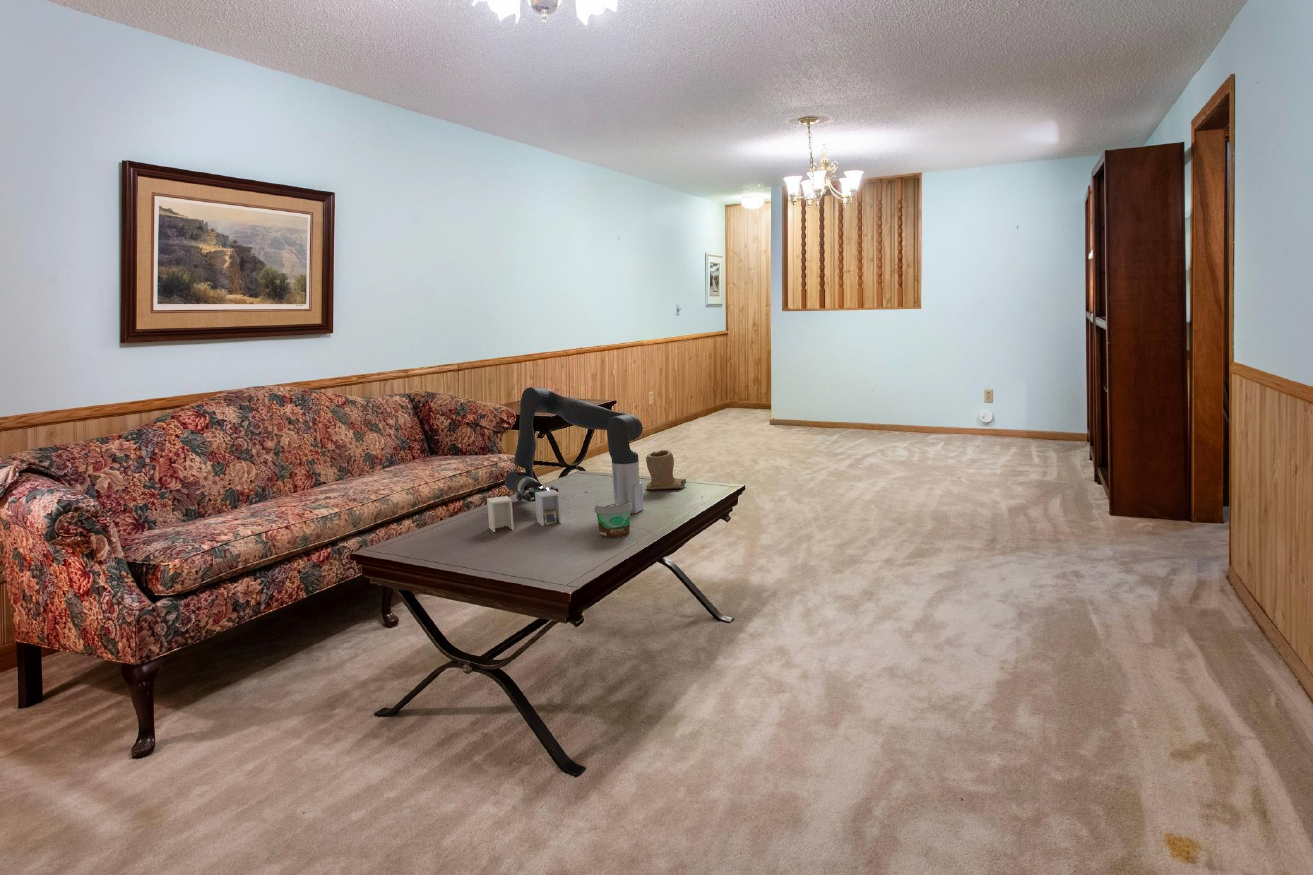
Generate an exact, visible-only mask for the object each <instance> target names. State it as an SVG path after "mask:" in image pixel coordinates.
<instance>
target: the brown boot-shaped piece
mask: <svg viewBox="0 0 1313 875" xmlns="http://www.w3.org/2000/svg"><path fill="white" fill-rule="evenodd" d="M645 463H646V467H647V470H648V472H649V475H650V478H651V481H650V482H648V483H647V484H646V485H645V487H646V489H648V490H678V489H683V488H684V487H685V486H686V484H687V479H686V478H675V477H674V475H673V474H674V466H675V458H674V454H673V453H672V451H671V450H668V449H661V450H658V451H652V452H650V453H648V454H647V455H646V457H645Z"/></svg>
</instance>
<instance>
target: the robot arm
mask: <svg viewBox="0 0 1313 875" xmlns="http://www.w3.org/2000/svg"><path fill="white" fill-rule="evenodd" d="M520 397H521V398H520V407H519V426H518V427H519V428H518V429H519V430H518V440H517V445H516V449H515V455H514V459H513V460H514V461H513V462H514V465H516V466H518V467H519V468H523V469H524V470H525V471H524V472H521V471H515V470H514V471H513V470H512V471H510V472H508V473H507V474H506V475H505V477H504V485H505V487H506V489H508V491H511V492H514V493H515V499H516V500H517V501H518V502H522V501H525V502H528V503H531V502H532V503H534V502H535V503H536V500H535V492H542V491H550V490H555V491H557V492H558V493H559V488H558V487H556V486H554V485H551V486H550V487H544V486H543V484H542V483H541V482H540V481H538V480H537V479H536V478H534V459H535V454H536V450H537V440H536V435H535V431H534V418H535V414H536V413H541V414H543V413H545V414H551V415H556V416H559V417H561V418H562V419H563V420H564V421H565V422H567V423H568V424H570V425H573V426H576V427H579V428H581V429H586V430H587V429H589V430H598V431H600V430H601V431H606V437H607V440H606V441H607V448H608V453H609V456H610V460H611V472H612V473H611V474H612V475H611V477H612V488H613V490H612V492H613V493H612V494H613V495H612V496H613V504H624V503H628V500H630V502H631V504H632V509H631V510H630V514H637V513H639V512H642V511H643V510H644V498H643V494H644V492H643V482H641V481H640V479H641V478H640V463H639V461H640V460H639V458H640V457H639V454H638V452H636V451H633V450H632V449H631V447H630V442H632V441H635V440H637V439H638V438H640V436H641V435H642V434H643V430H644V428H643V423H642V422H641V420H640V419H639V417H637V416H636V415H634V414H632V413H627V412H619V411H616V410H611V409H608V408H605V407H602V406H599V405H597V404H593V403H590V402H587V401H584V400H581V399H578V398H574V397H568V396H563V395H561V394H559V393H557V392H555V391H552V390H551V389H548V388H545V387H536V386H535V387H534V386H531V387H527V388H525V389H524V390H523V391H522V393H521V396H520Z"/></svg>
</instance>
